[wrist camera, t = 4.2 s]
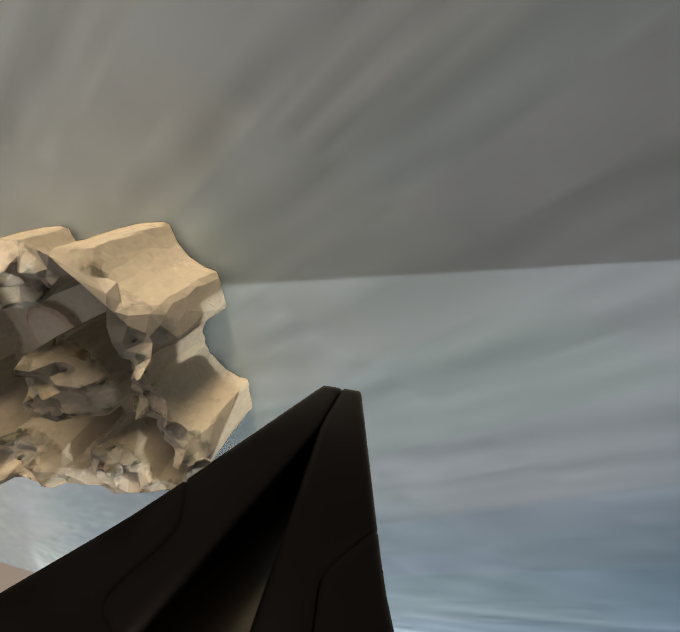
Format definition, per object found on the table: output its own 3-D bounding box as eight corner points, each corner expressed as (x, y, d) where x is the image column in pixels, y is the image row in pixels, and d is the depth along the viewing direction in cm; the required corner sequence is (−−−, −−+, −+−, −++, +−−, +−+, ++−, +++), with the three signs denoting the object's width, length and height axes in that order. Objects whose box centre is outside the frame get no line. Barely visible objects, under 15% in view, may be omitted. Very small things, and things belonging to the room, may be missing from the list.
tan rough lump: (33, 396, 14) (-103, 481, 11) (-70, 206, 11) (-314, 241, 8) (269, 448, 12) (187, 585, 8) (227, 212, 8) (56, 272, 5)
